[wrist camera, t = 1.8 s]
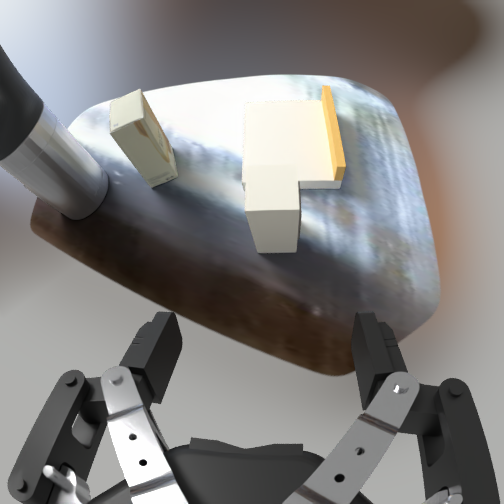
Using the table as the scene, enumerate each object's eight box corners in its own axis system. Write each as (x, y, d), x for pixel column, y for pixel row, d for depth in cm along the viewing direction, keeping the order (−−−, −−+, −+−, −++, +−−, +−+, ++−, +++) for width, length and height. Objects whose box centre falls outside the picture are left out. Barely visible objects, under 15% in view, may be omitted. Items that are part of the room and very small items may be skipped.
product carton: (257, 253, 35) (244, 210, 24) (258, 217, 36) (246, 165, 26) (298, 252, 34) (302, 209, 24) (297, 217, 36) (299, 164, 25)
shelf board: (244, 190, 37) (237, 168, 33) (247, 111, 42) (242, 88, 37) (339, 188, 36) (345, 166, 31) (327, 109, 40) (329, 85, 36)
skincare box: (179, 177, 39) (144, 119, 28) (150, 189, 39) (108, 135, 28) (172, 144, 41) (140, 86, 30) (145, 155, 41) (108, 101, 30)
